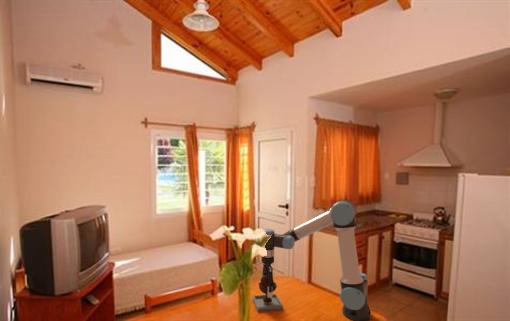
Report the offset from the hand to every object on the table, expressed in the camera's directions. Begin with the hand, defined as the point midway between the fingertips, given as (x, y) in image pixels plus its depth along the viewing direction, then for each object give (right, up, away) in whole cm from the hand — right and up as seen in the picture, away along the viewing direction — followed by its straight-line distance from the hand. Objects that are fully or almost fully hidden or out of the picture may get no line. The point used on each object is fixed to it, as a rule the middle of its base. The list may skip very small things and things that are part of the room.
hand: (267, 292), depth 163 cm
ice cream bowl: (0, -5, 0) cm, 5 cm away
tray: (0, -7, 0) cm, 7 cm away
